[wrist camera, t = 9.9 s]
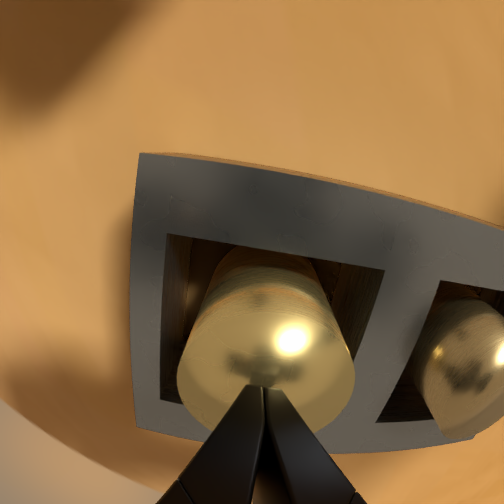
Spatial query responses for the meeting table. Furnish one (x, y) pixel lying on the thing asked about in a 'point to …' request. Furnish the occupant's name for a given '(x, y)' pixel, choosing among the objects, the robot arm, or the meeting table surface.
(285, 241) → the jig
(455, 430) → the dull gold rounded cylinder
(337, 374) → the brass domed cylinder
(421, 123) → the meeting table surface
